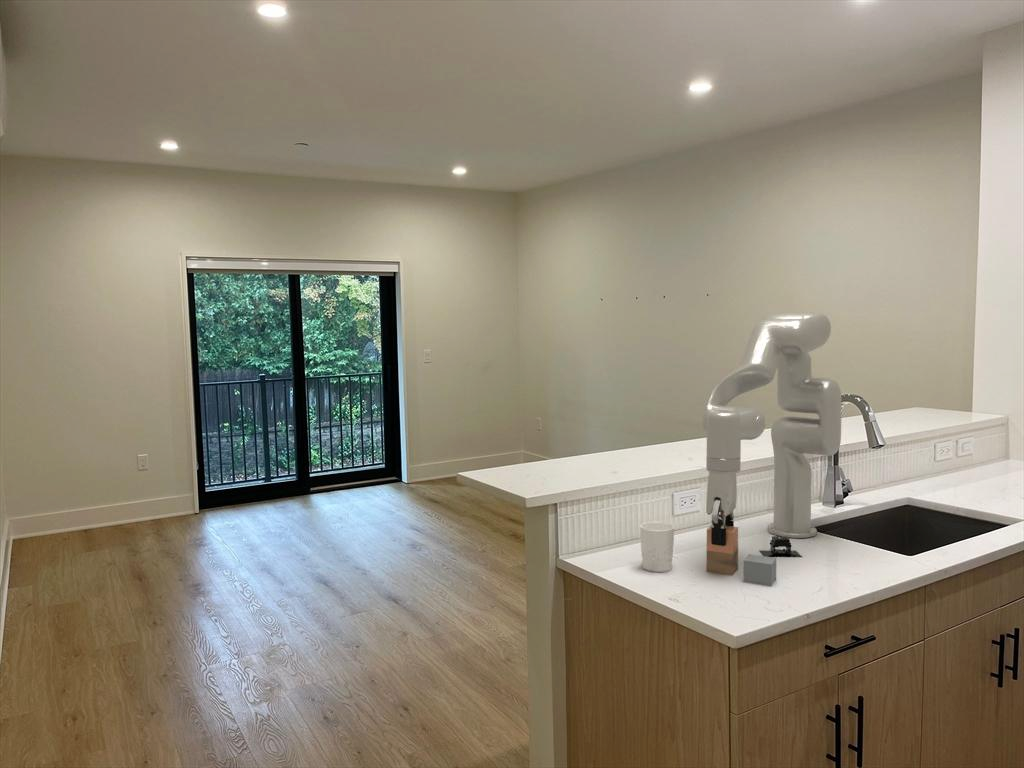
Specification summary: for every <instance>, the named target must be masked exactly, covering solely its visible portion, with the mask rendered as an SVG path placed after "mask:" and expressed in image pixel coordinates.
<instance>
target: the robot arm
mask: <svg viewBox="0 0 1024 768" xmlns="http://www.w3.org/2000/svg"><path fill="white" fill-rule="evenodd" d="M831 331H832V325H831V322H830V319H829V317H828V316H827V315H826V314H824V313H822V312H783V313H782V312H781V313H780V312H779V313H778V312H777V313H771V314H768V315H766V316H764V317H763V318H762V319H761V321H759V322H757V323H756V324H754V326H753V328H752V330H751V333H750V336H749V337H748V341H747V343H746V347H745V349H744V353H743V355H742V358H741V361H740V364H739V366H738V367H737V368H736V369H735V370H733V371H732V372H730V373H729V374H727V375H726V376H725V377H724V378H723V379H721V381H719V383H717V384H716V385H715V387H713V388H712V391H711V392H710V394H709V396H708V399H707V402H706V404H705V407H704V410H703V414H702V419H701V421H702V423H701V424H702V427H703V430H704V432H705V433H706V459H705V461H706V471H707V472H708V478H707V484H706V487H707V488H706V503H705V506H706V507H705V509H706V510H705V513H706V515H709V516H711V525H710V526H711V543H712V544H713V545H719V546H725V545H726V528H725V526H732V527H735V524H734V523H735V522H734V517H735V516H734V511H735V509H736V507H737V500H738V499H737V496H738V495H737V494H738V488H737V484H738V483H737V478H738V477H737V474H738V473H741V450H742V449H741V447H742V446H741V445H742V444H741V443H742V442H741V440H742V441H747V440H748V441H750V440H755V439H757V438H759V437H760V436H761V435H762V434H763V433H764V431H765V428H766V418H765V416H764V414H763V413H762V412H761V411H760V410H759V409H756V408H754V407H753V408H752V407H742V406H735V405H734V406H733V405H728V404H730V402H731V401H733V400H734V399H735V398H736V397H738V396H740V395H743V394H745V393H748V392H750V391H751V392H752V391H754V390H757V389H759V388H761V387H762V388H763V387H764V386H767V385H769V384H770V383H772V382H773V380H774V377H775V375H777V376H776V378H777V379H776V382H777V383H776V384H777V386H776V387H777V389H776V390H777V403H778V406H779V408H780V409H782V410H783V411H785V412H790V413H799V414H800V413H804V414H815V415H818V418H811V417H802V416H783V417H779V418H777V419H776V420H775V421H773V423H772V425H771V428H770V437H771V444H772V451H773V459H774V460H773V461H774V462H773V463H774V464H773V466H774V467H773V469H774V471H773V474H774V475H773V482H774V483H773V522H771V523H769V524H767V527H766V528H767V531H768V533H770V534H772V535H775V536H778V537H780V536H786V537H787V538H789V539H790V538H792V539H802V538H803V539H806V538H807V539H808V538H812V537H815V536H816V535H817V532H818V531H817V528H816V527H814V526H813V525H811V523H812V519H811V517H812V475H813V474H812V473H813V472H812V470H813V469H812V467H811V464H810V462H809V460H808V459H807V457H806V456H805V455H807V454H808V455H816V456H827V457H828V456H834V455H835V454H836V453H838V452H839V450H840V448H841V441H842V405H843V404H842V391H841V388H840V385H839V383H838V382H837V381H836V380H834V379H832V378H828V377H813V375H812V358H811V354H810V352H812V351H814V350H816V349H818V348H821V347H822V346H824V345H825V344H826V343H827V342H828V340H829V339H830V336H831V333H832V332H831ZM776 372H777V374H776Z"/></svg>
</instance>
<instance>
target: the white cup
mask: <svg viewBox="0 0 1024 768" xmlns="http://www.w3.org/2000/svg"><path fill="white" fill-rule="evenodd" d="M639 528H640V529H639V531H640V550H641V559H642V560H641V561H642V568H643V569H644V570H646V571H648V572H655V573H665V572H668V571H670V570H672V568H673V567H672V566H673V554H674V543H675V542H674V541H675V540H674V539H675V525H673V524H672V523H668V522H663V521H647V522H643V523H641V524H640V525H639Z"/></svg>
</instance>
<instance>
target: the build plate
mask: <svg viewBox="0 0 1024 768" xmlns="http://www.w3.org/2000/svg"><path fill="white" fill-rule="evenodd" d="M769 545H770V548H769V549H770V550H766V549H765V550H764V549H763V550H762V549H761V550H760V549H758V552H759V554H761V556H765V557H773V558H803V556H802V554H800V553H799V552H798V551H797V550H792V543H791V540H790V537H786V536H778V535H775V536H774V535H773V536H771V539H770V543H769ZM779 547H781V548H783V547H785V548H783V549H781V548H780V549H776V548H779Z"/></svg>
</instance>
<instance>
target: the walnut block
mask: <svg viewBox="0 0 1024 768" xmlns="http://www.w3.org/2000/svg"><path fill="white" fill-rule="evenodd" d="M705 567H706V569H705V570H706V572H707V573H712V574H719V575H725V576H732V577H733V576H734V575H735V574H736V573H737V571H738V570H739V548H738V549H737V550H736V551H735V553H734V554H727V553H720V552H713V551H707V550H706V566H705Z"/></svg>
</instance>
